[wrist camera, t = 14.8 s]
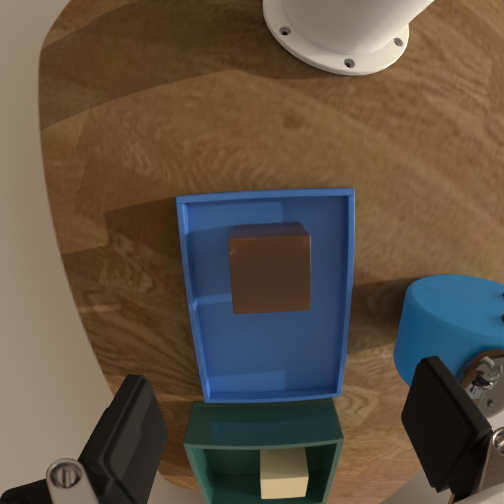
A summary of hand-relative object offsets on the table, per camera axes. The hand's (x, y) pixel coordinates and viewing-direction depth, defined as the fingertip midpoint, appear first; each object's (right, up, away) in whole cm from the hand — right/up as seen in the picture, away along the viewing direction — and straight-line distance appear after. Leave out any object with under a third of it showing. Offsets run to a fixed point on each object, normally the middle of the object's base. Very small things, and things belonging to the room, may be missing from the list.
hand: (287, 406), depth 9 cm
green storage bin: (0, -17, +21) cm, 27 cm away
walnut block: (0, +5, +14) cm, 15 cm away
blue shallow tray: (0, +1, +16) cm, 16 cm away
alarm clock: (+16, +1, +16) cm, 23 cm away
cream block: (+2, -19, +20) cm, 28 cm away
